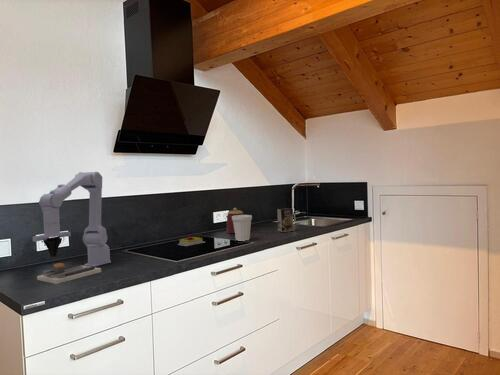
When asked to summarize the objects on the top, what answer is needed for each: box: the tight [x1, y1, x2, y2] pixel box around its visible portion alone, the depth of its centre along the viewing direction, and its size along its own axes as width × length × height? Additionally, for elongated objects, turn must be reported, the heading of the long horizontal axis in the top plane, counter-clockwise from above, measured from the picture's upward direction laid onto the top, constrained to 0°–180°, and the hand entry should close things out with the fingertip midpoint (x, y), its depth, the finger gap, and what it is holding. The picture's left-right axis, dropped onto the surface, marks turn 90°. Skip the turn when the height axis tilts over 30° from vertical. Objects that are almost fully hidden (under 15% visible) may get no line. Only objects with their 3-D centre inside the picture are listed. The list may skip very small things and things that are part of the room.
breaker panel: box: [36, 263, 102, 285], centre depth 155 cm, size 20×14×3 cm
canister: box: [225, 207, 244, 234], centre depth 257 cm, size 13×13×18 cm
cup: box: [232, 214, 253, 241], centre depth 222 cm, size 12×12×15 cm
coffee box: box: [276, 208, 294, 232], centre depth 251 cm, size 9×6×16 cm
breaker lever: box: [53, 262, 65, 275], centre depth 151 cm, size 3×3×4 cm
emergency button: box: [177, 236, 206, 247], centre depth 221 cm, size 9×4×15 cm
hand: (53, 256), depth 149 cm, fingers closed
